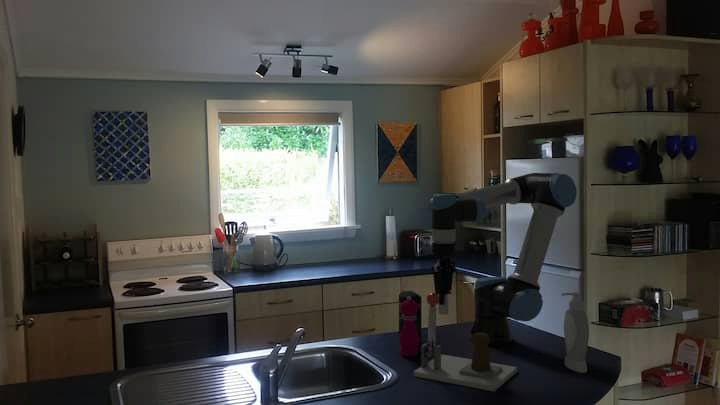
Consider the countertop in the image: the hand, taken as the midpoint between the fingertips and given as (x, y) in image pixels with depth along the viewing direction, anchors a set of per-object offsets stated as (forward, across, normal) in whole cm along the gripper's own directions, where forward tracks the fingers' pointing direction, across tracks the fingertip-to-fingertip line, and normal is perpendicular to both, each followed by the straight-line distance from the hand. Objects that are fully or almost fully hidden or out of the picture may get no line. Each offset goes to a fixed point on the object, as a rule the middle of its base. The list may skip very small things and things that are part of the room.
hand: (443, 313), depth 210 cm
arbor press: (+17, +5, +9) cm, 20 cm away
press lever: (+12, +10, 0) cm, 15 cm away
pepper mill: (+17, -5, -15) cm, 23 cm away
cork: (+14, +5, +15) cm, 21 cm away
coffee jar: (+17, -17, -21) cm, 32 cm away
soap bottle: (+17, -17, +37) cm, 44 cm away
